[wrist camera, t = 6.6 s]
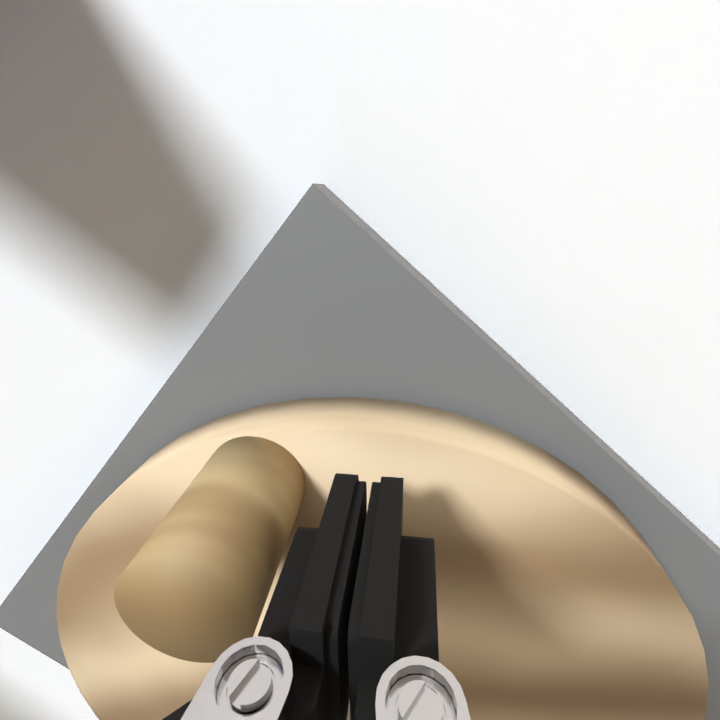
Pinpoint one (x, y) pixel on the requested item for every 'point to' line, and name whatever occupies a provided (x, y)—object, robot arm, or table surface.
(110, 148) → the table surface
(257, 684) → the robot arm
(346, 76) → the table surface
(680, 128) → the table surface
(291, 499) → the turntable
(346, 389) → the base plate
